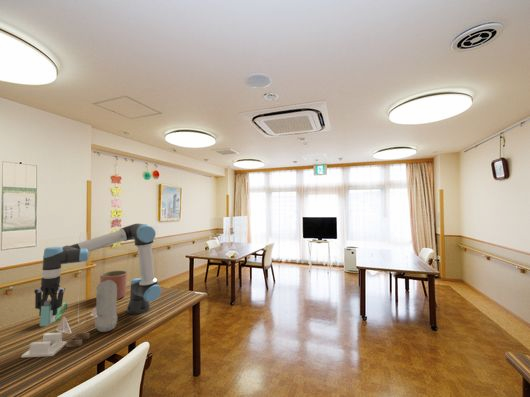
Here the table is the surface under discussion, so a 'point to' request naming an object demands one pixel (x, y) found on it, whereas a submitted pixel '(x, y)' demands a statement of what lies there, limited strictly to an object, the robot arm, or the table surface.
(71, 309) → the table surface
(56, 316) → the mug
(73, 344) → the holster
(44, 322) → the plug
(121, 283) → the planter
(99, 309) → the sculpture
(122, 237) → the robot arm
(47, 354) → the port
